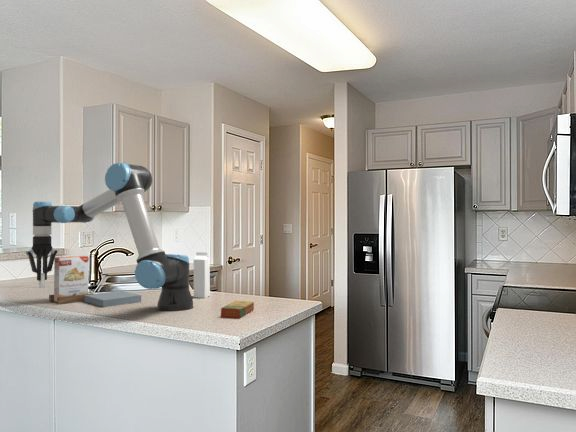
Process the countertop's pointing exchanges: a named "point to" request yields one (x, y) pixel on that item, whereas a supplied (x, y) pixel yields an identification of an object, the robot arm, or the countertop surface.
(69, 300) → the slot rack
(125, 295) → the slate board
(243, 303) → the carton
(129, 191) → the robot arm
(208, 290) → the milk
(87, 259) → the cracker box
